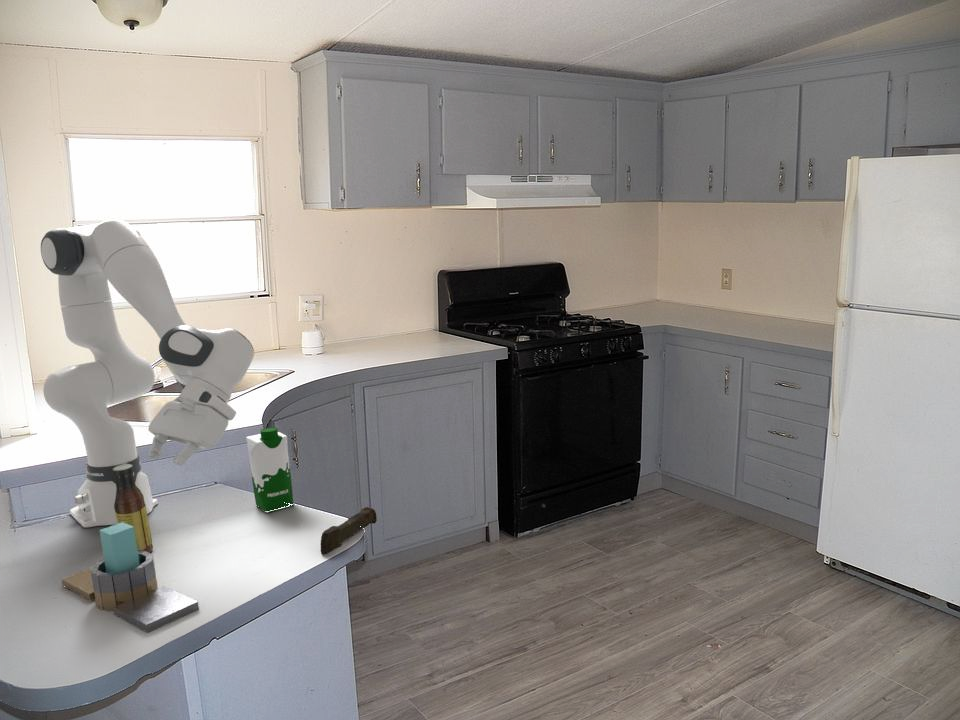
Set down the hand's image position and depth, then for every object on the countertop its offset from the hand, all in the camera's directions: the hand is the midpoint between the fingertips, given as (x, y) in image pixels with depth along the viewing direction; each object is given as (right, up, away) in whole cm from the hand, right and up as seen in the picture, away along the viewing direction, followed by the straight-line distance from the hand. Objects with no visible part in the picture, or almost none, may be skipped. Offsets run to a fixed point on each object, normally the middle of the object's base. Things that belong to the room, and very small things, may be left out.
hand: (164, 460), depth 160 cm
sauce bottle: (-12, -23, +17) cm, 31 cm away
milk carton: (+11, -17, +41) cm, 45 cm away
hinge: (-6, -26, -4) cm, 27 cm away
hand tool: (+34, -20, +18) cm, 43 cm away
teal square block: (-6, -26, -4) cm, 27 cm away
